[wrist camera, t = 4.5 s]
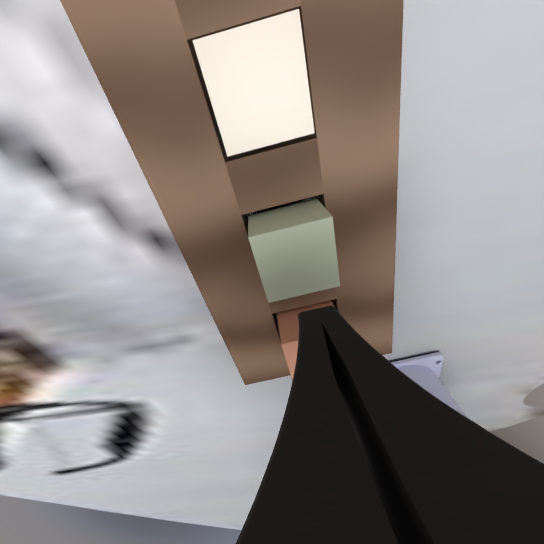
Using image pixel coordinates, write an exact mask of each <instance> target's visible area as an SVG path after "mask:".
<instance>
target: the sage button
mask: <svg viewBox="0 0 544 544" xmlns="http://www.w3.org/2000/svg"><path fill="white" fill-rule="evenodd" d="M248 239H249V242H250V245H251V249H252V252H253V255H254V258H255V261H256V265H257V268H258V271H259V274H260V278H261V281H262V284H263V287H264V290H265V294H266V297H267V300H268V303H271V302H275V301H279V300H283V299H288V298H292V297H296V296H300V295H304V294H309V293H313V292H317V291H321V290H326V289H330V288H334V287H338V286H340V280H339V271H338V261H337V252H336V243H335V234H334V224H333V216H332V215H331V214H330V213H329V212H328V211H327V210H326V208H325V207H324V206H323V205H322V204H321V203H320V202H319V200H318V199H317V198H316V199H312V200H308V201H304V202H300V203H296V204H293V205H289V206H285V207H281V208H277V209H273V210H269V211H265V212H261V213H257V214H254V215H250V216H248Z"/></svg>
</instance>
